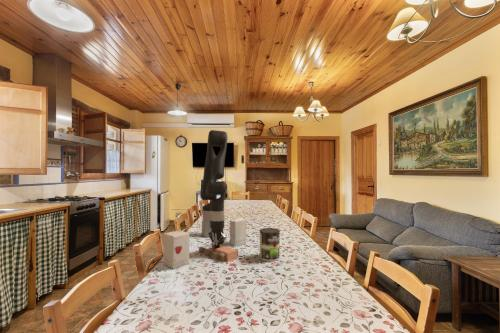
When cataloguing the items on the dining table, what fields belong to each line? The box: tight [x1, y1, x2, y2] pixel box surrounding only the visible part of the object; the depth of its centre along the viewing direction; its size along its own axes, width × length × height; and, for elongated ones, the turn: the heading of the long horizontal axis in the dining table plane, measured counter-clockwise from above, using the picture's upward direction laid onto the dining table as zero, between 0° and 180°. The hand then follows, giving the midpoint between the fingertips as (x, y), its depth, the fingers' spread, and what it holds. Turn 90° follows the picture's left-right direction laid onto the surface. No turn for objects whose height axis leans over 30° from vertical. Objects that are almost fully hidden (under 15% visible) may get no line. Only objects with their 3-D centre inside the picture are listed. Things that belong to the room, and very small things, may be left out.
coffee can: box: [259, 227, 281, 262], centre depth 133 cm, size 10×10×14 cm
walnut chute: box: [198, 243, 239, 262], centre depth 137 cm, size 20×11×4 cm, turn 46°
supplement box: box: [162, 230, 190, 270], centre depth 123 cm, size 9×9×15 cm
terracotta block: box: [214, 245, 238, 262], centre depth 132 cm, size 10×6×4 cm, turn 46°
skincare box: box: [229, 217, 247, 247], centre depth 155 cm, size 8×6×15 cm
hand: (217, 251), depth 137 cm, fingers closed
